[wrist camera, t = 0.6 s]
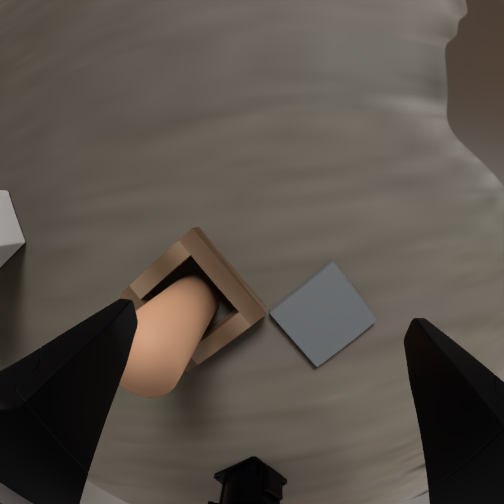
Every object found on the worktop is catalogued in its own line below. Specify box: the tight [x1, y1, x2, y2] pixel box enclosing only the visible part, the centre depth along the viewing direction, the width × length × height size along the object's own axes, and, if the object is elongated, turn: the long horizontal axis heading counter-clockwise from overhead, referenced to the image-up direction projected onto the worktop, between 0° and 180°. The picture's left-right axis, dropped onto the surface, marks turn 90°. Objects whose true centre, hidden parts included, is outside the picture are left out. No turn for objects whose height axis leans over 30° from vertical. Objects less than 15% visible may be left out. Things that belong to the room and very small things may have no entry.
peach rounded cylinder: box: [119, 274, 219, 398], centre depth 21 cm, size 4×4×13 cm
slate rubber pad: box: [269, 260, 377, 367], centre depth 26 cm, size 7×7×1 cm
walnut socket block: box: [119, 227, 266, 373], centre depth 26 cm, size 9×9×2 cm
